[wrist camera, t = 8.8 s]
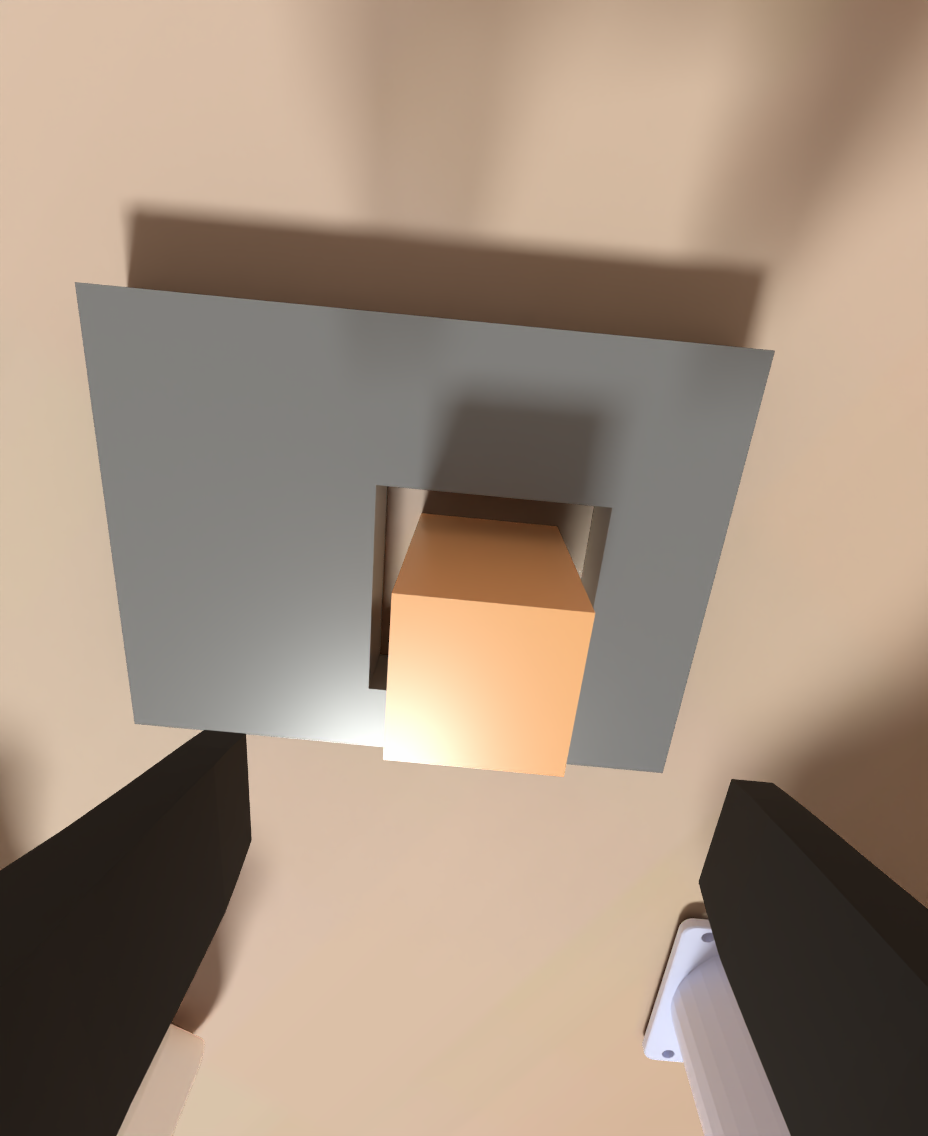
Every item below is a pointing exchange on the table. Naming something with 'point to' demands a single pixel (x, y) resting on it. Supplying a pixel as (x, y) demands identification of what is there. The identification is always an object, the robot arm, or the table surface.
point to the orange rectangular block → (486, 647)
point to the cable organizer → (165, 1086)
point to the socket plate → (359, 497)
